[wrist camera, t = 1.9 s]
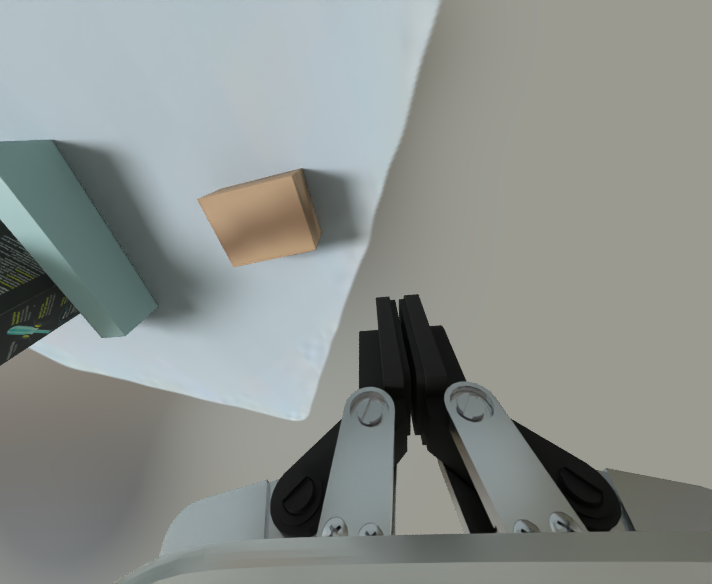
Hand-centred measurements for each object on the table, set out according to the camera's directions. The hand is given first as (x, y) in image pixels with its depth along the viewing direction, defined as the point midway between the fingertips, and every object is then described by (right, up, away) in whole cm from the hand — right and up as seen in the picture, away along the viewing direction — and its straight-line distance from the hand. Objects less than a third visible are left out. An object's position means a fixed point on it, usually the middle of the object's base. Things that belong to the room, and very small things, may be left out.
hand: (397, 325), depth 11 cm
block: (-11, +10, +18) cm, 23 cm away
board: (-32, +8, +20) cm, 38 cm away
